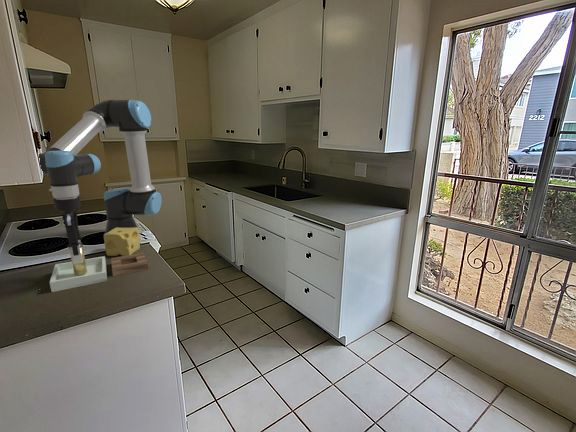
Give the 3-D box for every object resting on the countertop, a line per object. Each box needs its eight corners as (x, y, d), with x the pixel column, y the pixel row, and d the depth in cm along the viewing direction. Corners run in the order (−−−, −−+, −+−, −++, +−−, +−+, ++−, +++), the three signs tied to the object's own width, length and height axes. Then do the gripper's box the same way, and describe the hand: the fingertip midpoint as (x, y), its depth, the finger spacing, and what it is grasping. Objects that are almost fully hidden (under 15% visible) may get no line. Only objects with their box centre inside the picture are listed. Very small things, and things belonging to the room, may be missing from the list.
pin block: (111, 264, 123) (111, 258, 122) (144, 258, 129) (143, 252, 128) (113, 276, 113) (112, 270, 112) (148, 269, 119) (147, 263, 118)
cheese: (129, 256, 130) (126, 234, 127) (104, 256, 130) (101, 234, 127) (141, 247, 140) (139, 227, 137) (118, 247, 140) (115, 226, 138)
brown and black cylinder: (74, 271, 112) (69, 243, 109) (87, 269, 114) (82, 241, 111) (73, 276, 109) (68, 247, 106) (87, 273, 111) (81, 245, 108)
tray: (57, 272, 115) (55, 264, 114) (106, 264, 123) (104, 256, 122) (51, 292, 102) (49, 282, 101) (107, 281, 109) (105, 272, 108)
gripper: (55, 193, 109) (67, 253, 116) (49, 203, 95) (63, 272, 101) (81, 191, 113) (91, 250, 119) (78, 201, 98) (90, 267, 105)
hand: (78, 260), depth 110 cm, fingers open, 4 cm apart
